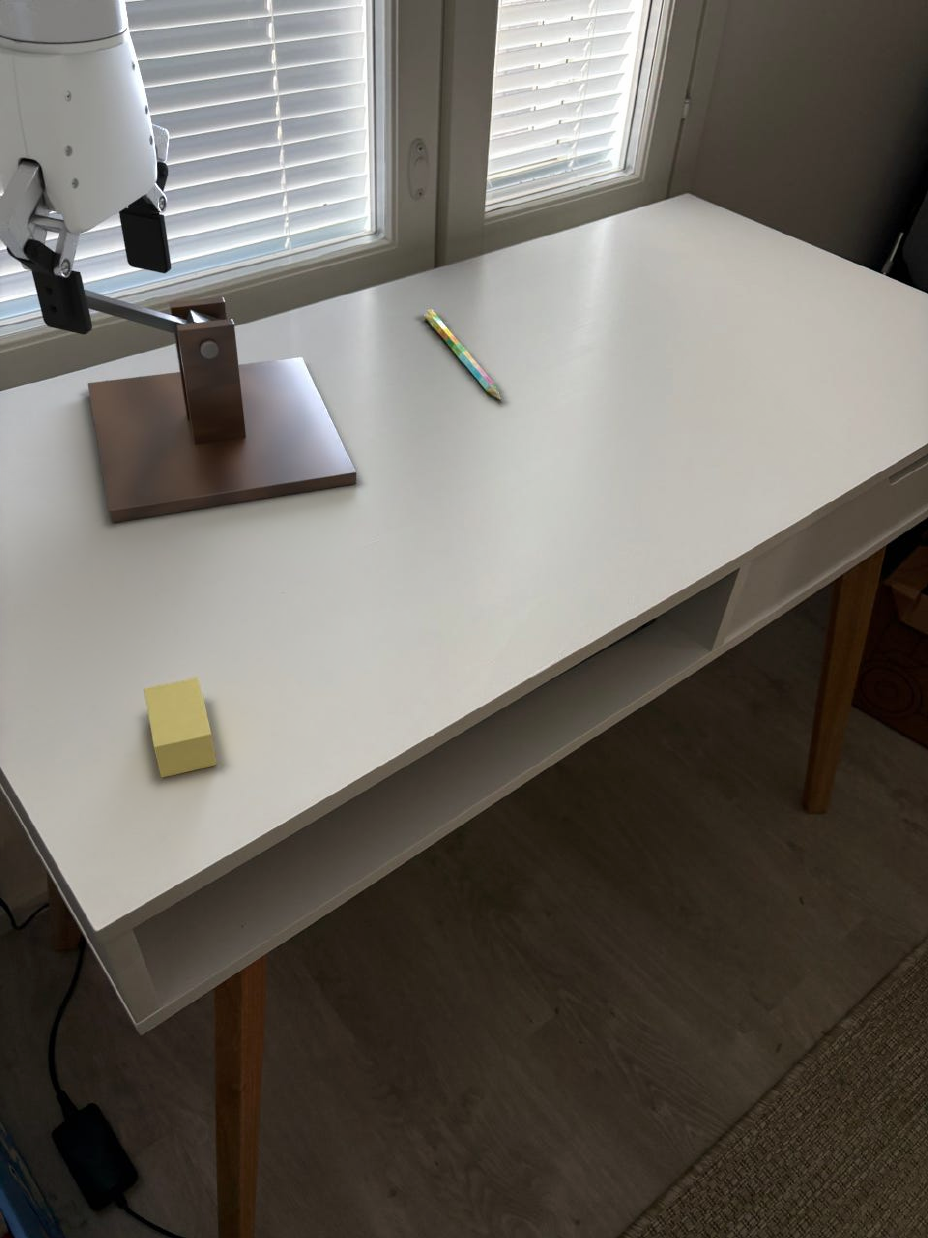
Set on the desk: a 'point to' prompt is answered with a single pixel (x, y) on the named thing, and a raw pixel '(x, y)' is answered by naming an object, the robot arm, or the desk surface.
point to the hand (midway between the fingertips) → (111, 296)
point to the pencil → (462, 353)
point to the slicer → (213, 427)
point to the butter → (179, 727)
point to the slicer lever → (142, 313)
